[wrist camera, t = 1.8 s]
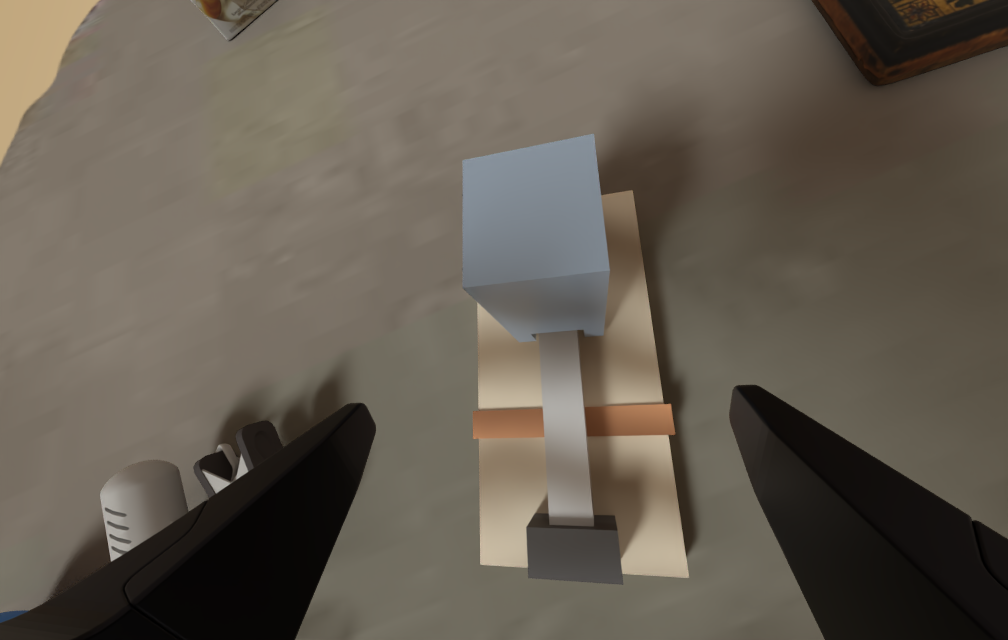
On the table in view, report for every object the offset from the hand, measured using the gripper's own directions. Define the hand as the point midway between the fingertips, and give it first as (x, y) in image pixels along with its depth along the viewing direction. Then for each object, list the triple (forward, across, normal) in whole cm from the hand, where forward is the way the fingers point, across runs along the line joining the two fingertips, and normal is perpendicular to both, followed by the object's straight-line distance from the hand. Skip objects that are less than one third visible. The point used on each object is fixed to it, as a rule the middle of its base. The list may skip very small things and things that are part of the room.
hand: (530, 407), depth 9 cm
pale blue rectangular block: (+12, 0, +3) cm, 13 cm away
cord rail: (+11, 0, +7) cm, 13 cm away
